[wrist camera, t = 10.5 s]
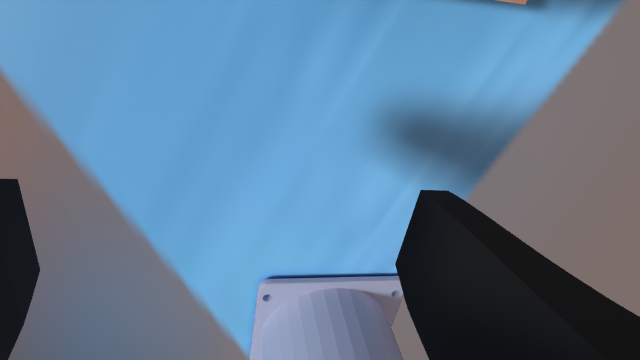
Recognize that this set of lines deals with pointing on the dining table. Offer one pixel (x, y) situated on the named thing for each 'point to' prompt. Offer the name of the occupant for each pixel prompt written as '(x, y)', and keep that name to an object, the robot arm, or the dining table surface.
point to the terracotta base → (515, 1)
